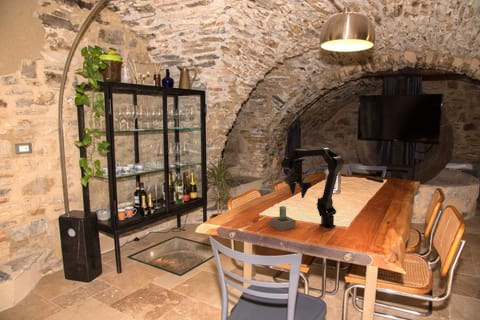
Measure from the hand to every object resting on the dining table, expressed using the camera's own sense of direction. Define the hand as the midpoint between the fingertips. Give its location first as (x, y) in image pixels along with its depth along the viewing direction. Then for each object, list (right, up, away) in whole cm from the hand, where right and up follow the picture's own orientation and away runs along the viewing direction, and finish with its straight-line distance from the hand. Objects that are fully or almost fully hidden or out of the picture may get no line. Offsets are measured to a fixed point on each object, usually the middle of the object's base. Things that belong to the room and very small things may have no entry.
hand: (297, 196), depth 191 cm
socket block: (-10, -15, -13) cm, 22 cm away
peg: (-10, -14, -13) cm, 22 cm away
